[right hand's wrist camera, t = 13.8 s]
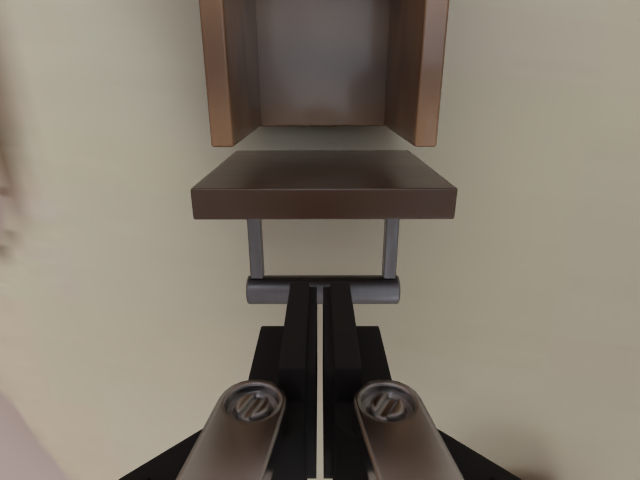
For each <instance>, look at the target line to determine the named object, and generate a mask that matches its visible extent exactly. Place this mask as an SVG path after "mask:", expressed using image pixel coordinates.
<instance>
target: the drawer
mask: <svg viewBox="0 0 640 480" xmlns="http://www.w3.org/2000/svg"><path fill="white" fill-rule="evenodd" d="M199 7H200V18H201V30H202V41H203V53H204V64H205V75H206V87H207V98H208V109H209V121H210V132H211V143H212V146H213V147H233V146H234V145H235V144H237V143H238V142H240V141H241V140H242V139H244V138H245V137H246V136H248V135H249V134H250V133H252V132H253V131H254V130H256V129H257V128H258V127H260V126H386V127H387V128H389V129H390V130H392V131H393V132H395V133H396V134H398V135H399V136H401V137H402V138H404V139H405V140H407V141H408V142H410V143H411V144H413V145H414V146H416V147H434V146H436V142H437V131H438V120H439V108H440V97H441V86H442V75H443V64H444V53H445V42H446V31H447V20H448V9H449V0H199ZM456 197H457V188H456V187H455V186H453V185H452V184H451V183H449V182H448V181H447V180H446V179H444V178H443V177H442V176H440V175H439V174H438V173H437V172H435V171H434V170H433V169H431V168H430V167H429V166H428V165H426V164H425V163H424V162H422V161H421V160H420V159H419V158H417V157H416V156H415V155H413V154H412V153H411V152H410V151H408V150H375V151H236V152H235V153H234V154H232V155H231V156H230V157H229V158H228V159H226V160H225V161H224V162H223V163H222V164H220V165H219V166H218V167H217V168H215V169H214V170H213V171H212V172H211V173H209V174H208V175H207V176H206V177H205V178H203V179H202V180H201V181H200V182H199V183H197V184H196V185H195V186H194V187H193V188H191V199H192V208H193V217H194V219H247V224H248V240H249V256H250V272H251V276H248V279H247V285H246V297H247V302H248V303H249V304H287V303H288V296H289V289H290V283H291V282H310V287H317V304H323V287H330V282H349V283H350V289H351V296H352V303H353V304H397V303H399V300H400V281H399V278H398V276H397V275H396V262H397V247H398V232H399V219H453V218H454V215H455V206H456ZM262 219H385V223H384V242H383V262H382V275H268V276H264V256H263V236H262Z"/></svg>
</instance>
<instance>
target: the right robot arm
mask: <svg viewBox="0 0 640 480" xmlns="http://www.w3.org/2000/svg"><path fill="white" fill-rule="evenodd" d="M316 449H317V287H310V282H291V283H290V289H289V296H288V303H287V310H286V317H285V323H284V326H262V327H261V330H260V334H259V338H258V342H257V346H256V351H255V355H254V359H253V363H252V367H251V371H250V375H249V380H247V381H243V382H240V383H237V384H235V385H233V386H231V387H230V388H229V389H227V390H226V391H225V392H224V393H223V394H222V395H221V397H220V398H219V400H218V402H217V404H216V405H215V407H214V409H213V411H212V413H211V415H210V417H209V418H208V420H207V422H206V424H205V426H204V428H203V429H202V430H200V431H198V432H197V433H195V434H193V435H192V436H190V437H188V438H187V439H185V440H183V441H182V442H180V443H178V444H177V445H175V446H173V447H172V448H170V449H168V450H167V451H165V452H163V453H162V454H160V455H158V456H157V457H155V458H153V459H152V460H150V461H149V462H147V463H145V464H144V465H142V466H140V467H139V468H137V469H135V470H134V471H132V472H130V473H129V474H127V475H125V476H124V477H122V478H120V479H119V480H307V478H316ZM323 449H324V478H333V480H521V479H520V478H518V477H516V476H515V475H513V474H511V473H510V472H508V471H506V470H505V469H503V468H501V467H500V466H498V465H496V464H495V463H493V462H491V461H490V460H488V459H487V458H485V457H483V456H482V455H480V454H478V453H477V452H475V451H473V450H472V449H470V448H468V447H467V446H465V445H463V444H462V443H460V442H458V441H457V440H455V439H453V438H452V437H450V436H448V435H447V434H445V433H443V432H442V431H440V430H438V429H437V428H436V426H435V424H434V422H433V420H432V418H431V417H430V415H429V413H428V411H427V409H426V407H425V405H424V404H423V402H422V400H421V398H420V397H419V395H418V394H417V393H416V392H415V391H414V390H413V389H411V388H410V387H409V386H407V385H405V384H403V383H400V382H397V381H393V380H391V375H390V371H389V367H388V363H387V359H386V355H385V351H384V346H383V342H382V338H381V334H380V330H379V327H378V326H356V323H355V317H354V310H353V303H352V296H351V289H350V283H349V282H330V287H323Z"/></svg>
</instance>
